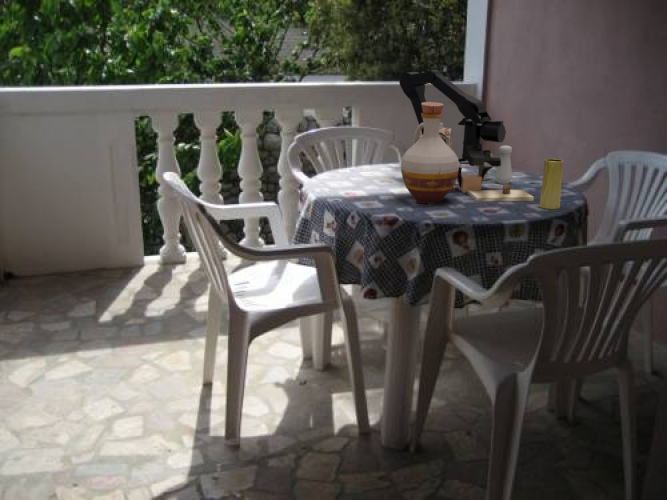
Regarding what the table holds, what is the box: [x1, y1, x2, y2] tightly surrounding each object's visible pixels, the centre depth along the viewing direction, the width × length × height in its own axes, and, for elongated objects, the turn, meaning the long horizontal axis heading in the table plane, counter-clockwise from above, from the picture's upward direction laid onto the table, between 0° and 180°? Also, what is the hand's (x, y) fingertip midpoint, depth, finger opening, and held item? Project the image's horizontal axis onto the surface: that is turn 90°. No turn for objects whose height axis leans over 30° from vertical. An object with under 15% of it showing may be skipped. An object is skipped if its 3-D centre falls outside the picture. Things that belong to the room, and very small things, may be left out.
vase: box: [538, 158, 564, 210], centre depth 213 cm, size 6×6×14 cm
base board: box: [467, 183, 534, 203], centre depth 227 cm, size 18×11×4 cm, turn 95°
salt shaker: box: [494, 145, 513, 185], centre depth 247 cm, size 6×6×13 cm
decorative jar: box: [418, 122, 453, 150], centre depth 269 cm, size 12×12×18 cm
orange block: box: [457, 173, 482, 193], centre depth 237 cm, size 6×6×5 cm
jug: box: [400, 101, 459, 204], centre depth 219 cm, size 20×18×30 cm
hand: (469, 186), depth 237 cm, fingers closed on orange block, 6 cm apart
